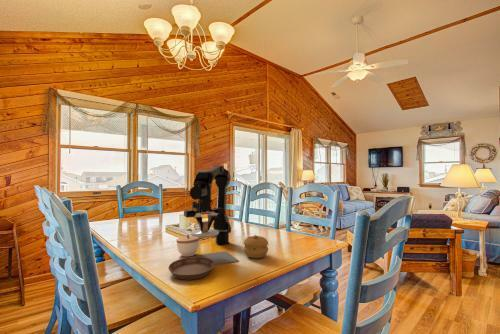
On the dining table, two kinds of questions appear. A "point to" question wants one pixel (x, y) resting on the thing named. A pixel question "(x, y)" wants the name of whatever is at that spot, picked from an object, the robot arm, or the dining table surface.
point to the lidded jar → (188, 245)
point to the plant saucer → (191, 267)
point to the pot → (255, 246)
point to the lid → (204, 231)
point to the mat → (219, 257)
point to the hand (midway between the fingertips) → (204, 230)
